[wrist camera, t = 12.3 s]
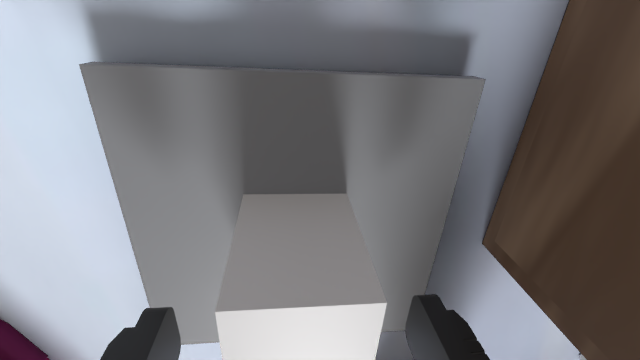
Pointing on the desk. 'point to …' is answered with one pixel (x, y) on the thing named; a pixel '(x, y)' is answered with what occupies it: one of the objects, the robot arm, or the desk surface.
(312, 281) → the lid
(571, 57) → the box
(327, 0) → the desk surface
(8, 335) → the book
